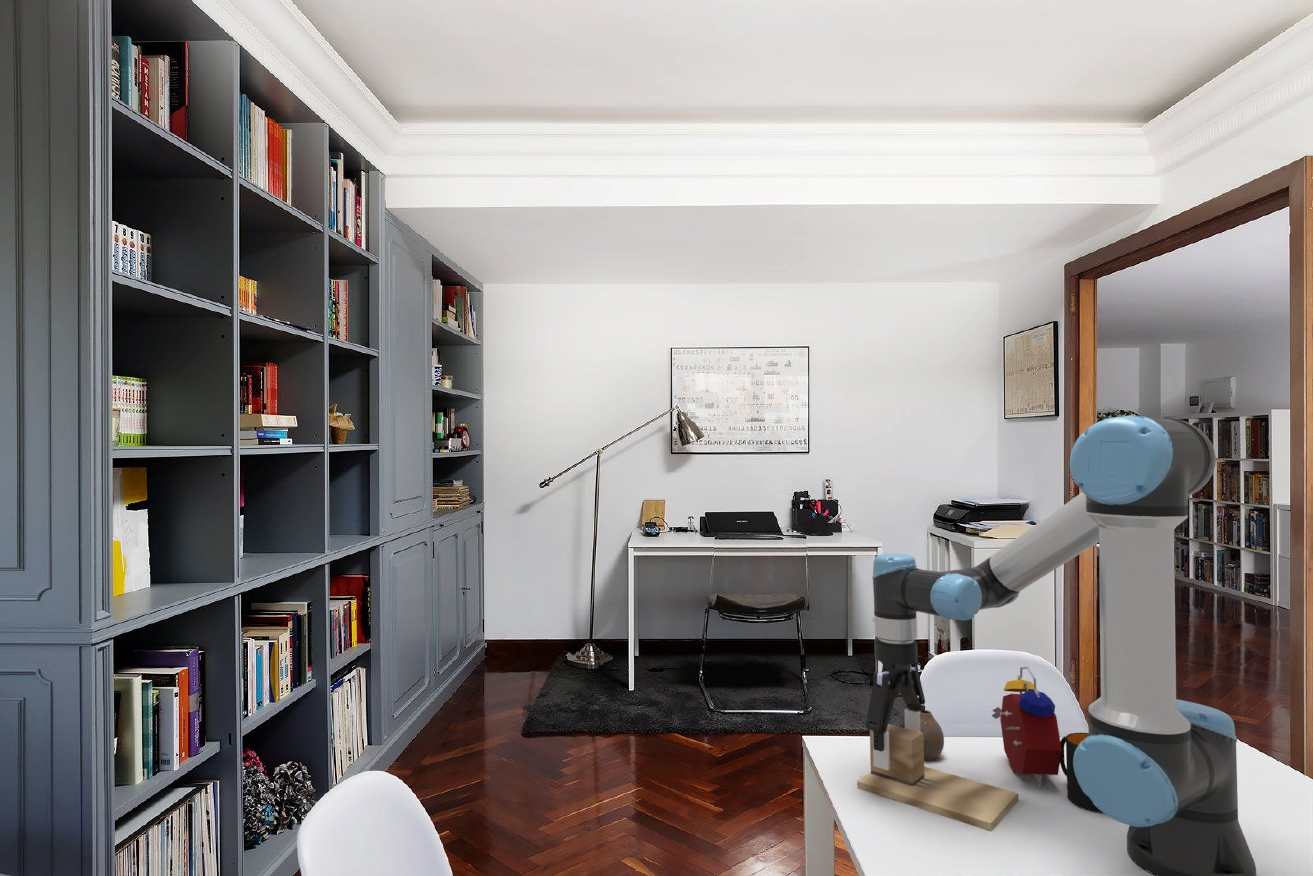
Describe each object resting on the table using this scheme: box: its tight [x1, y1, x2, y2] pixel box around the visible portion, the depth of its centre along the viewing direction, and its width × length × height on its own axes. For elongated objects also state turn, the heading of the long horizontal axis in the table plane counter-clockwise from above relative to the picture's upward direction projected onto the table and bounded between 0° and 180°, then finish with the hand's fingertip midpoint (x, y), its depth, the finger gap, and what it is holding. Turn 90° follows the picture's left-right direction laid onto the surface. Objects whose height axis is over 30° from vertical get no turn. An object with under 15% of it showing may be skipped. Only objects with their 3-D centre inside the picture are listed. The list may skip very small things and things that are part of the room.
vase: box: [919, 709, 945, 761], centre depth 144 cm, size 7×7×9 cm
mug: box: [1059, 732, 1106, 815], centre depth 126 cm, size 8×12×10 cm
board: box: [856, 766, 1019, 832], centre depth 128 cm, size 23×14×1 cm, turn 47°
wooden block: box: [869, 723, 925, 786], centre depth 133 cm, size 8×5×8 cm, turn 47°
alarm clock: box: [991, 666, 1062, 787], centre depth 136 cm, size 15×9×20 cm, turn 171°
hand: (897, 756), depth 133 cm, fingers open, 13 cm apart
